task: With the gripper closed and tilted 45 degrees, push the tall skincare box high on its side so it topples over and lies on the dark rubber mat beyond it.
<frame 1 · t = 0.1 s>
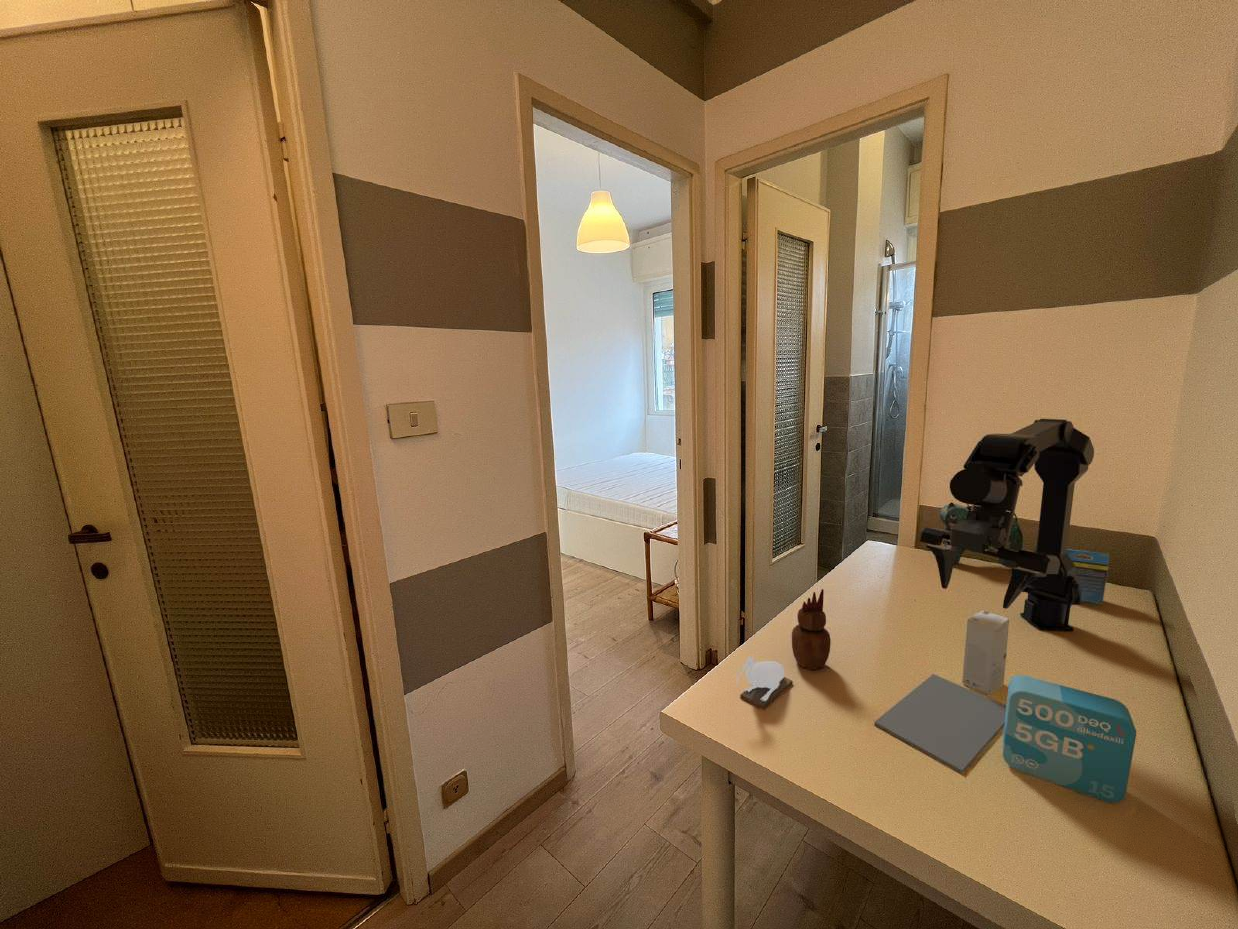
hand: (973, 598, 84), 15 cm above the table, tool pointing down, fingers open, 9 cm apart
figurine: (760, 698, 84), on the table
data package: (1057, 776, 66), on the table
skincare box: (982, 684, 85), on the table
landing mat: (945, 718, 77), on the table
label tape box: (1074, 599, 114), on the table
wooden figurine: (809, 665, 93), on the table
ceramic cat: (975, 564, 136), on the table
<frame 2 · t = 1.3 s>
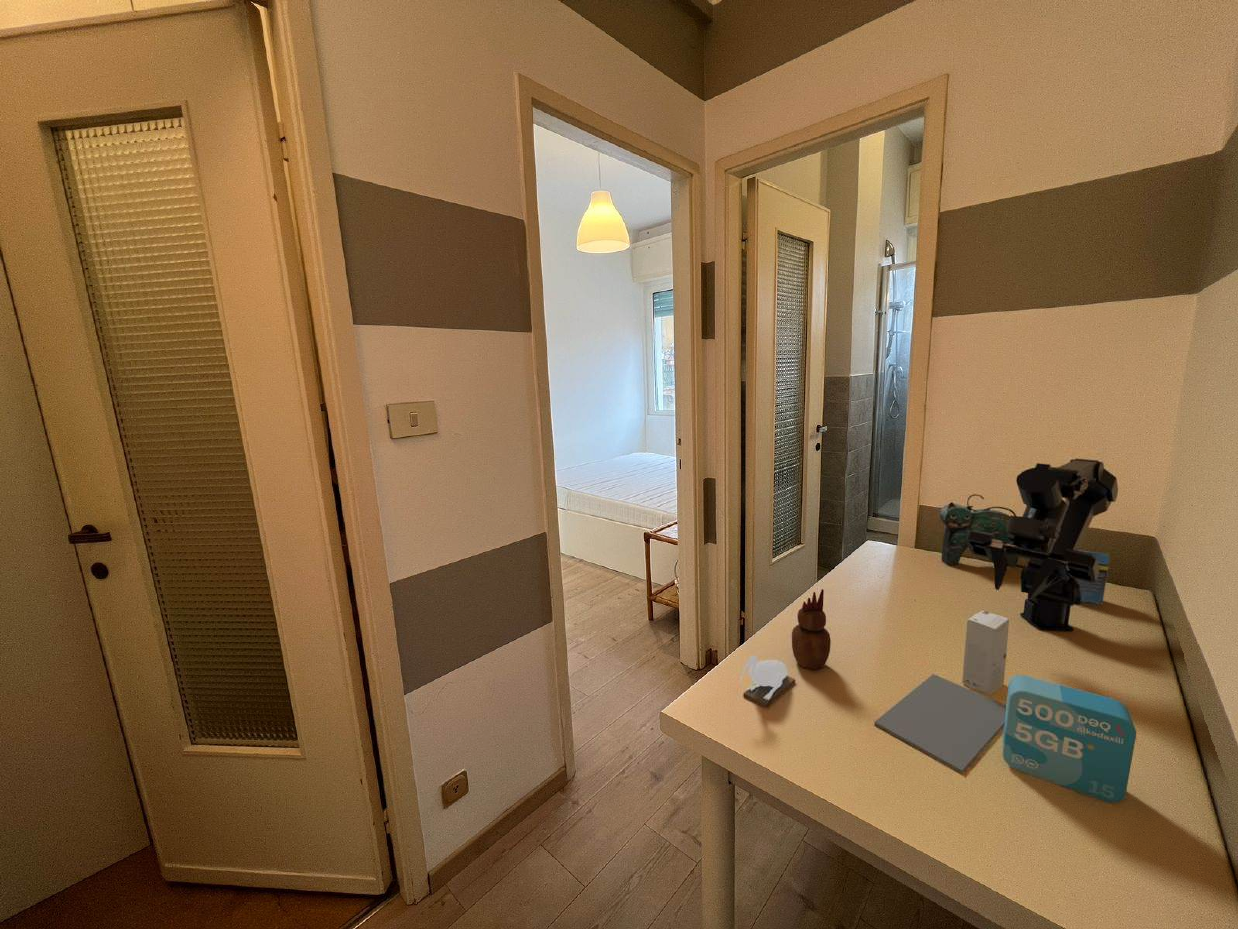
hand: (1012, 593, 89), 14 cm above the table, tool tilted 45°, fingers open, 5 cm apart
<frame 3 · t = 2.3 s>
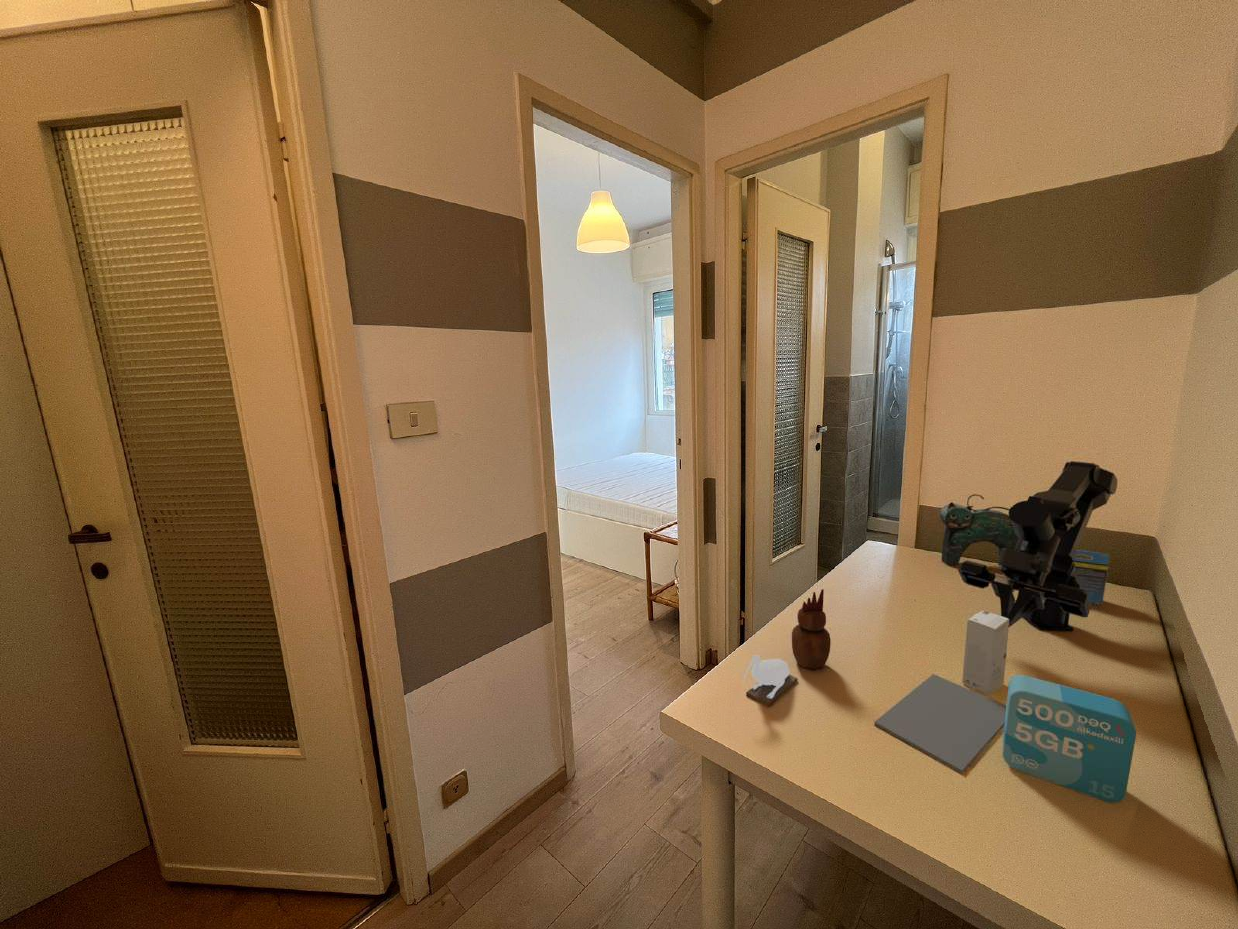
hand: (1004, 626, 89), 8 cm above the table, tool tilted 45°, fingers closed
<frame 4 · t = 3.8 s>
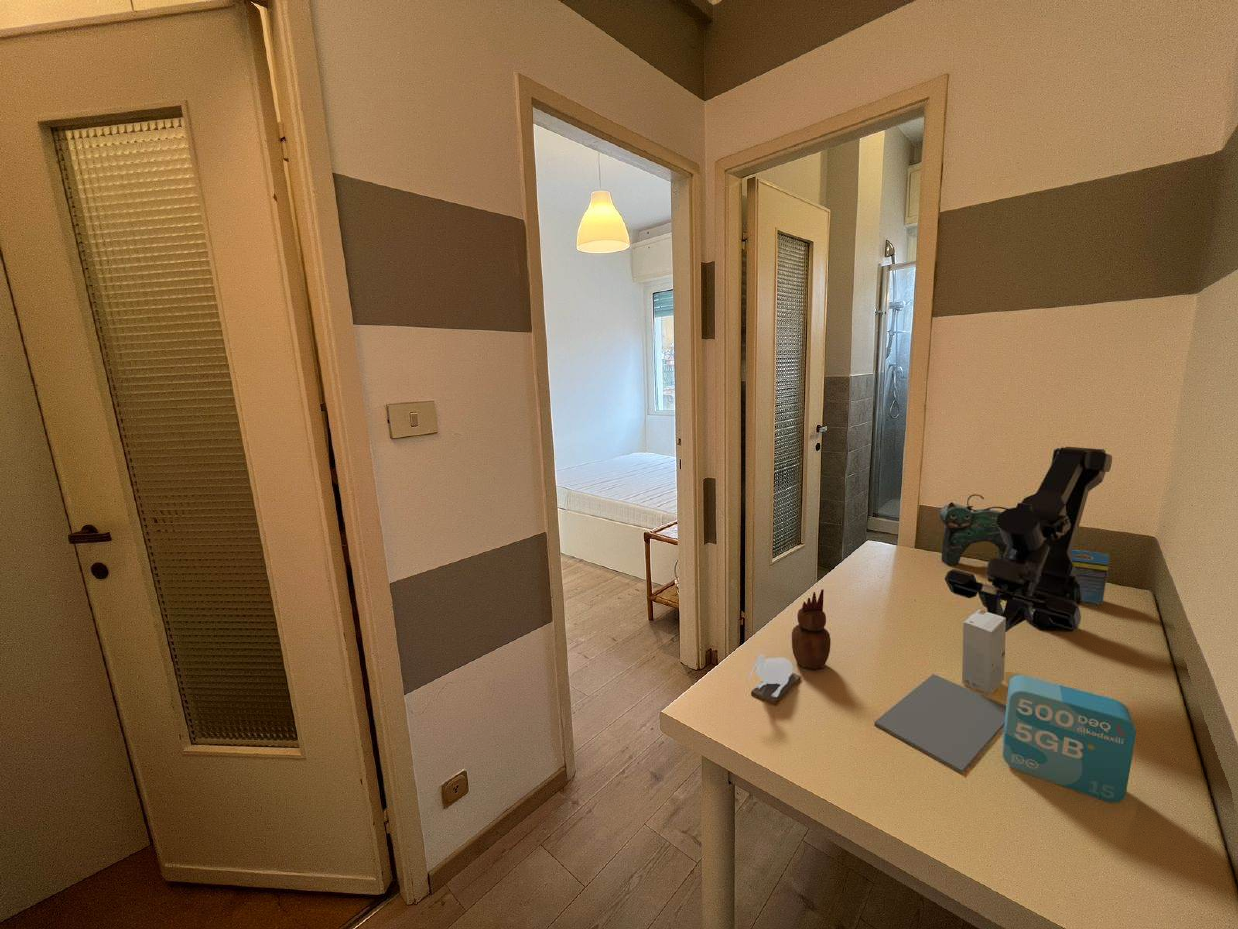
hand: (991, 638, 85), 8 cm above the table, tool tilted 45°, fingers closed
skincare box: (982, 682, 85), on the table, touching gripper
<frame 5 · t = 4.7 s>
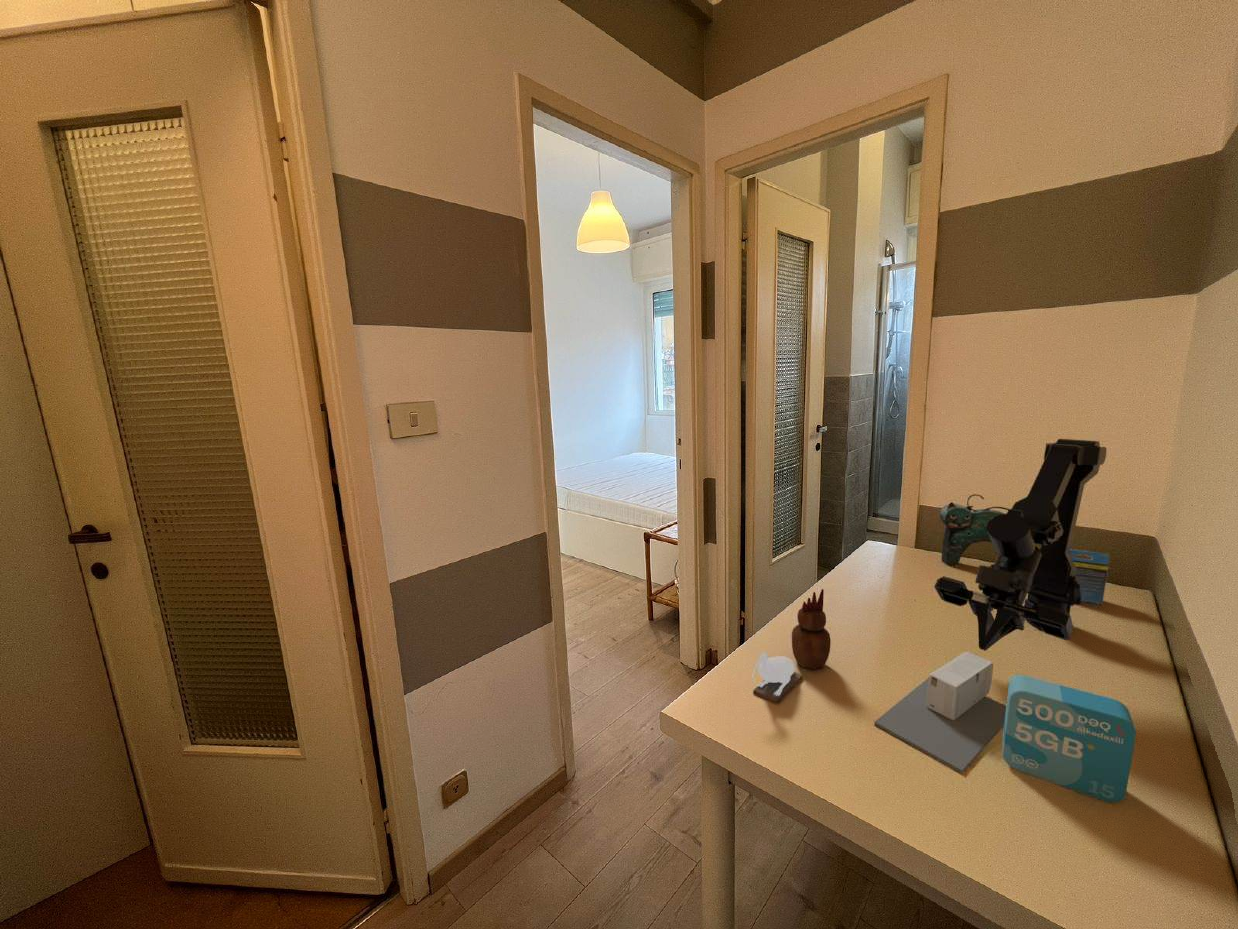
hand: (981, 649, 83), 7 cm above the table, tool tilted 45°, fingers closed
skincare box: (977, 670, 83), point 4 cm above the table, touching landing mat
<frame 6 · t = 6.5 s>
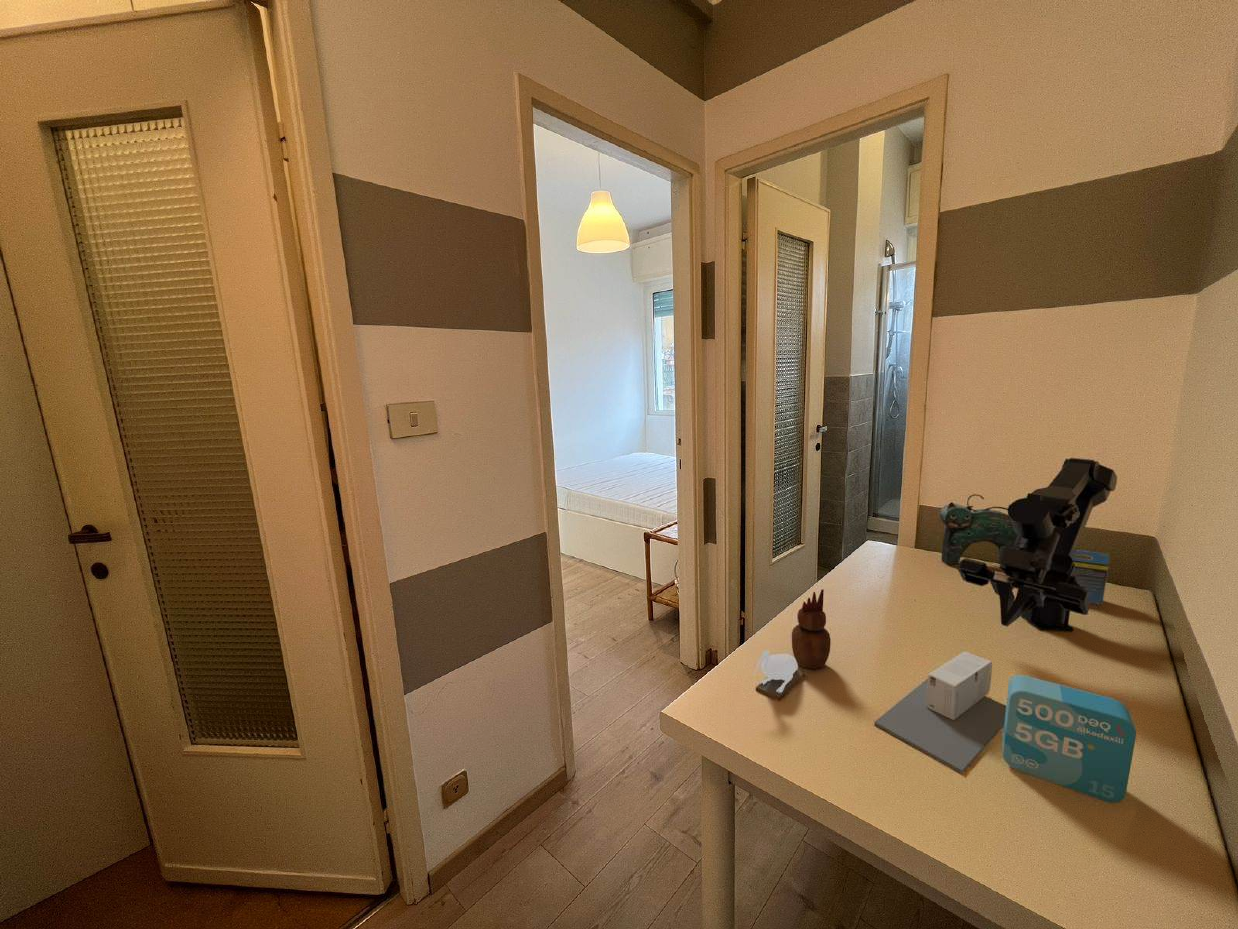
hand: (1004, 625, 88), 8 cm above the table, tool tilted 45°, fingers closed
figurine: (775, 690, 86), on the table
everything else where it was.
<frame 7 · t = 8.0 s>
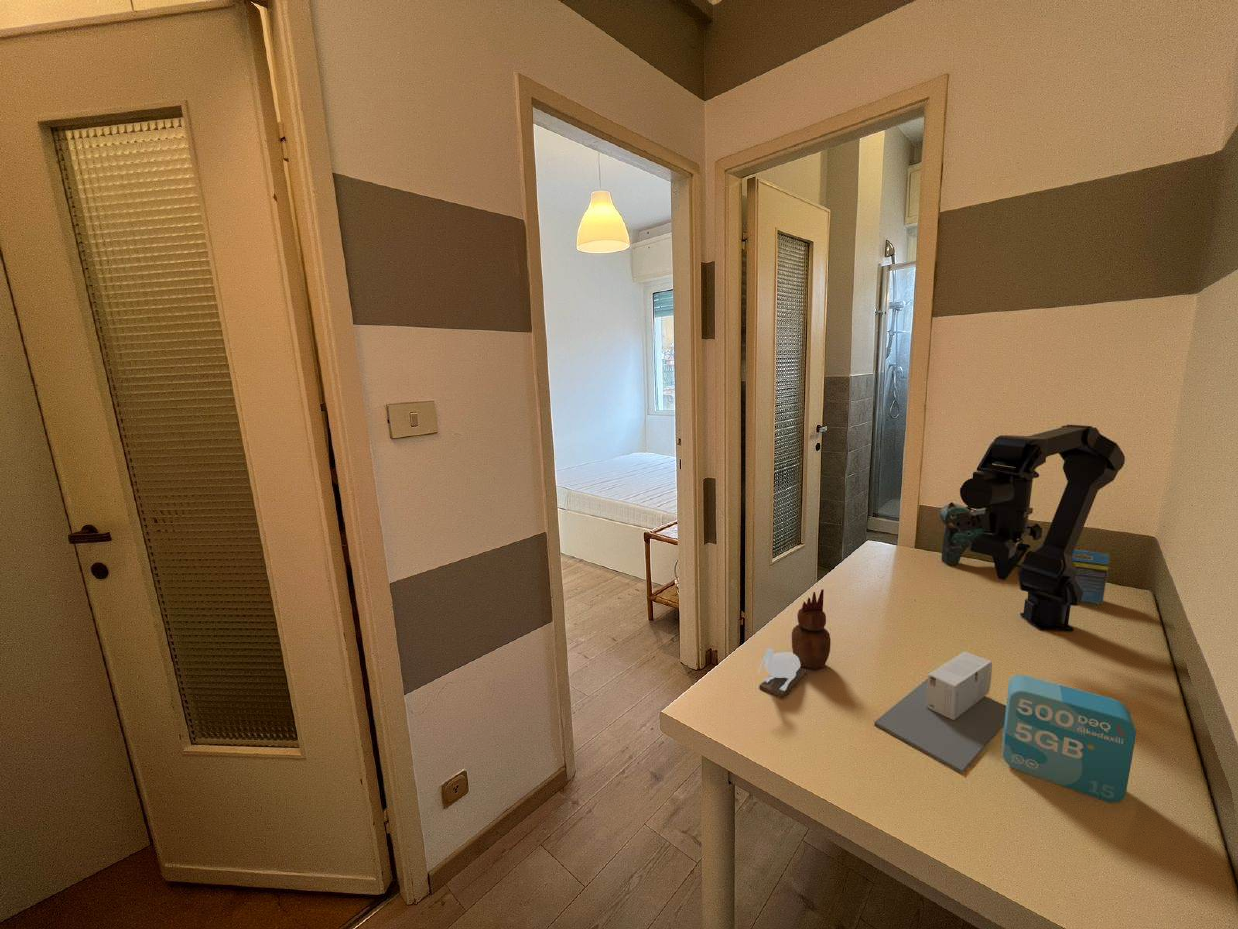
hand: (1001, 579, 96), 13 cm above the table, tool pointing down, fingers closed
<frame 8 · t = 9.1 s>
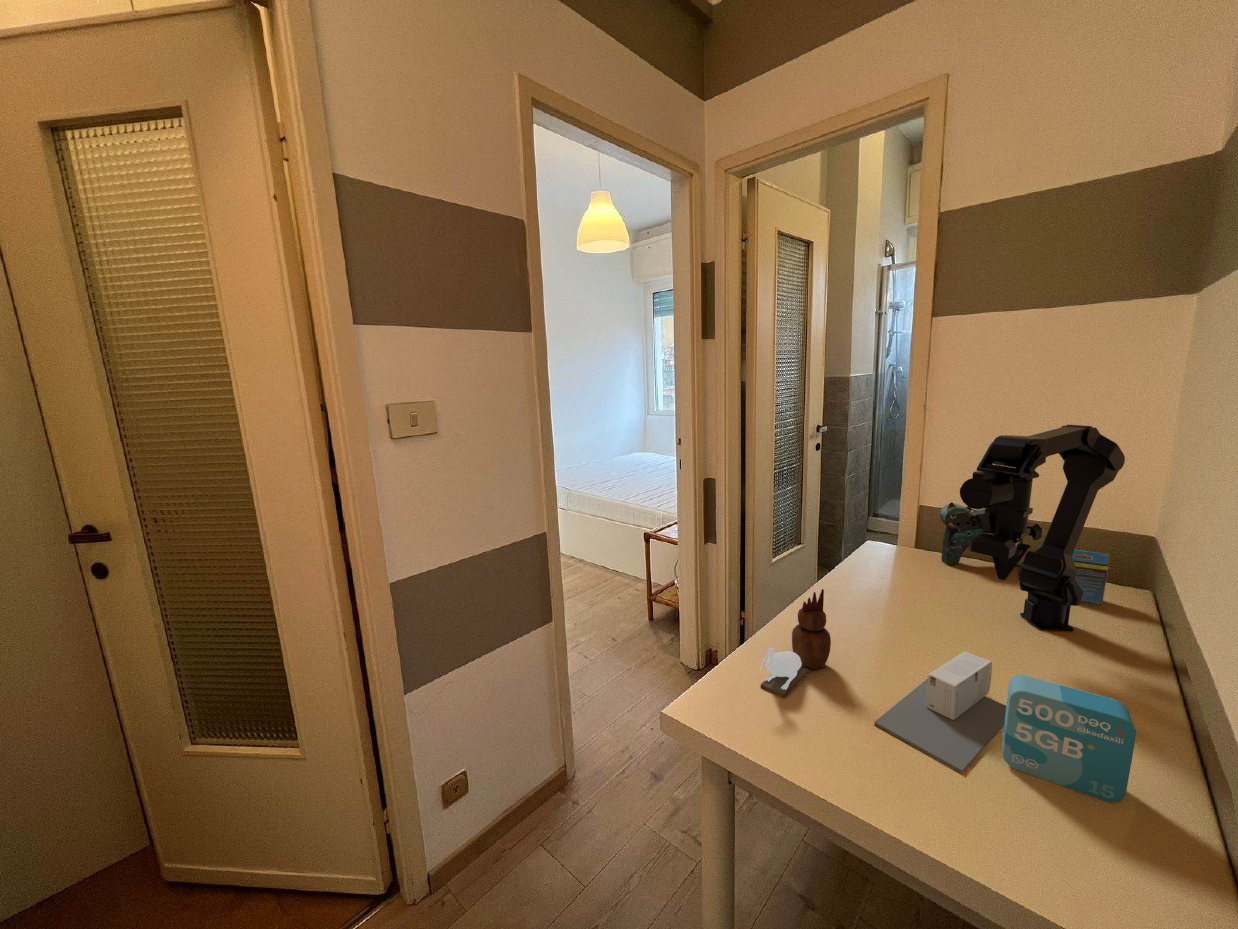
hand: (1001, 579, 96), 13 cm above the table, tool pointing down, fingers closed
at the end: skincare box tilted 91°; skincare box inside the target area (2.9 cm from its centre), point 3.6 cm above the table; the gripper is holding nothing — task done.
